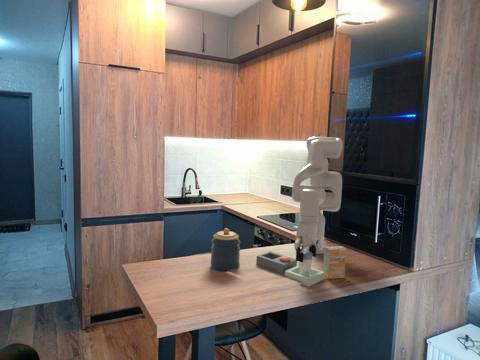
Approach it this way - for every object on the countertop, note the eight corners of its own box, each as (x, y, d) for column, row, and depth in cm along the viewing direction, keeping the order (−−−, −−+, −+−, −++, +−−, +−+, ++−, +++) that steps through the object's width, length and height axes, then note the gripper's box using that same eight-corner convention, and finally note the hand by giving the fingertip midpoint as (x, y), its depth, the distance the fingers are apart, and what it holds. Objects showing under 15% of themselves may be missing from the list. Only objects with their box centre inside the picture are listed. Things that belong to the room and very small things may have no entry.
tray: (300, 270, 160) (300, 264, 160) (324, 278, 152) (324, 271, 152) (284, 277, 151) (284, 270, 151) (309, 286, 143) (309, 279, 143)
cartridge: (302, 272, 155) (304, 250, 154) (313, 276, 152) (314, 253, 150) (295, 275, 151) (297, 252, 150) (306, 279, 148) (308, 256, 147)
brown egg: (283, 265, 162) (283, 255, 161) (291, 268, 159) (292, 258, 158) (277, 268, 158) (277, 257, 158) (285, 270, 156) (286, 260, 155)
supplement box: (327, 279, 151) (329, 249, 150) (321, 275, 156) (324, 246, 154) (344, 278, 154) (347, 248, 152) (338, 274, 158) (341, 245, 157)
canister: (236, 273, 154) (237, 233, 151) (206, 270, 156) (208, 230, 154) (241, 263, 166) (243, 226, 164) (214, 260, 169) (216, 223, 167)
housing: (269, 261, 170) (270, 251, 170) (296, 270, 160) (296, 259, 160) (256, 266, 163) (256, 255, 163) (283, 276, 153) (283, 264, 152)
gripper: (311, 214, 158) (309, 252, 160) (288, 220, 145) (286, 261, 147) (327, 217, 153) (324, 256, 155) (304, 223, 140) (302, 266, 142)
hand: (305, 258), depth 151 cm, fingers open, 9 cm apart
